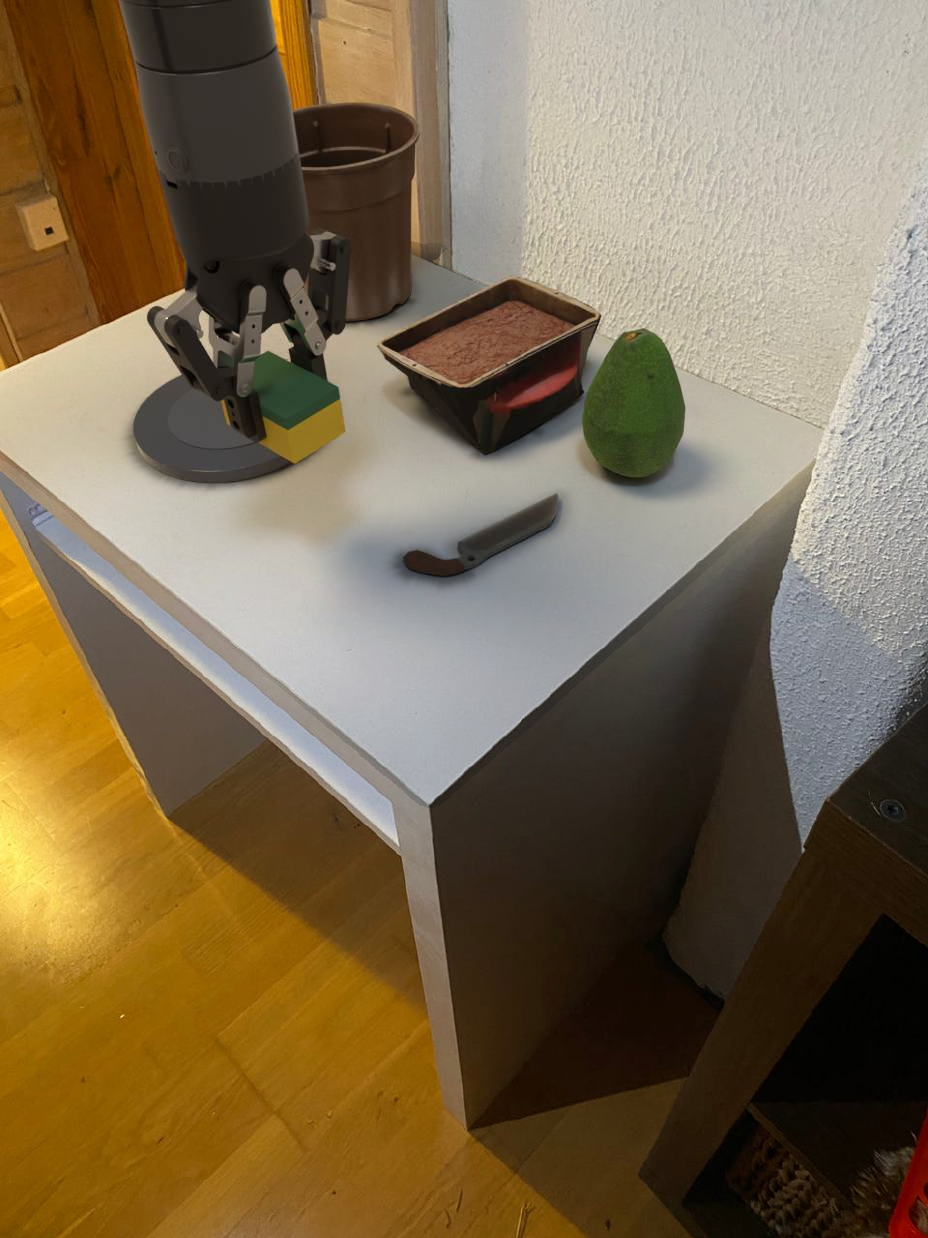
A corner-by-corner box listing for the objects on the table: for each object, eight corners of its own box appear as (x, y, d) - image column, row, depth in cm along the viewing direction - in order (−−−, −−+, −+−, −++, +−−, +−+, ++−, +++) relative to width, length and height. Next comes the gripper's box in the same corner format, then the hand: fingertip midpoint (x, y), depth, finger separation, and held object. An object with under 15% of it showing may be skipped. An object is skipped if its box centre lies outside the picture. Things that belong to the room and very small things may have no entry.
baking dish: (378, 411, 86) (356, 324, 78) (525, 322, 91) (519, 230, 83) (473, 496, 79) (460, 410, 71) (627, 394, 84) (631, 302, 76)
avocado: (635, 428, 80) (651, 298, 71) (695, 476, 75) (720, 343, 66) (559, 459, 77) (566, 328, 68) (616, 511, 72) (631, 377, 64)
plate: (220, 510, 74) (216, 497, 73) (97, 432, 82) (93, 420, 81) (368, 412, 83) (366, 400, 82) (244, 351, 90) (241, 339, 90)
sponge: (294, 464, 59) (285, 418, 56) (226, 423, 62) (214, 378, 60) (346, 432, 61) (339, 386, 59) (277, 394, 65) (268, 349, 62)
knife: (429, 591, 67) (429, 584, 66) (400, 560, 69) (399, 554, 69) (578, 514, 72) (579, 508, 72) (547, 488, 74) (547, 482, 74)
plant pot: (288, 346, 91) (256, 177, 79) (265, 272, 102) (234, 114, 90) (447, 318, 94) (439, 151, 82) (409, 249, 104) (397, 92, 92)
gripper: (283, 94, 54) (324, 354, 67) (69, 173, 47) (160, 447, 59) (372, 122, 50) (398, 391, 63) (155, 212, 43) (233, 495, 56)
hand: (282, 417), depth 61 cm, fingers closed on sponge, 4 cm apart
